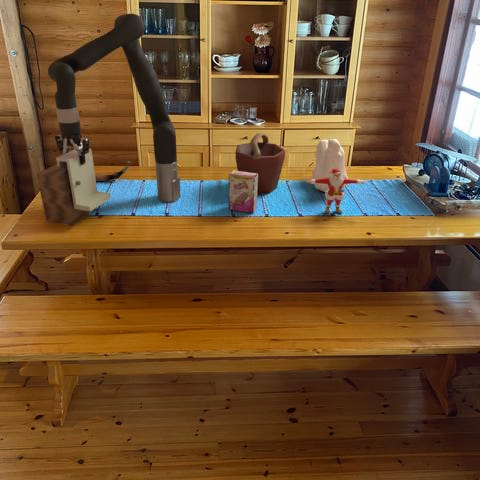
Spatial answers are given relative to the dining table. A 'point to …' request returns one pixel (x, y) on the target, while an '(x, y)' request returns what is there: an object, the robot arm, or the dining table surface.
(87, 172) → the white angled bracket
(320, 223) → the dining table surface
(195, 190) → the dining table surface
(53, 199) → the cabinet
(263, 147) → the bucket
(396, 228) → the dining table surface
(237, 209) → the candy bar box
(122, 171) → the drinking horn
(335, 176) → the santa figurine
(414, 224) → the dining table surface
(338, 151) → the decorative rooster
